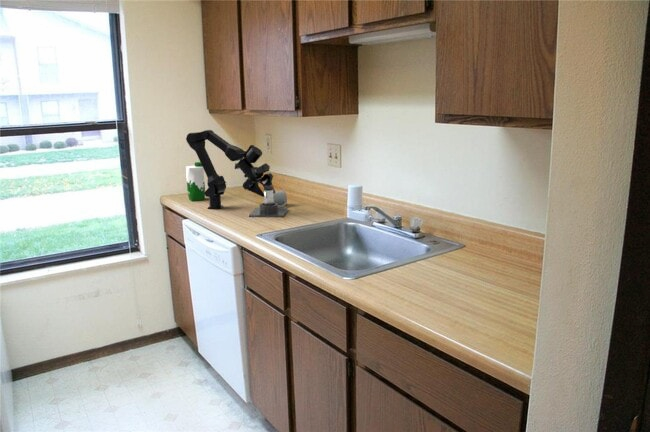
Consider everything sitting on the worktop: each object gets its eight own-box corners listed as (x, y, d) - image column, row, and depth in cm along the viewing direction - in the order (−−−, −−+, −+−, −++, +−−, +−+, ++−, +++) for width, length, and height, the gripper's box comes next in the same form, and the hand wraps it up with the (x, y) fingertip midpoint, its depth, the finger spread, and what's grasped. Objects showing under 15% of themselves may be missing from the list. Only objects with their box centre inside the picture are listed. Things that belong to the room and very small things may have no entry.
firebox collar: (255, 209, 252) (255, 200, 251) (288, 209, 251) (288, 201, 250) (248, 216, 236) (248, 207, 235) (283, 217, 235) (283, 207, 234)
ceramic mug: (267, 204, 263) (267, 190, 261) (282, 203, 266) (282, 188, 264) (273, 209, 254) (273, 193, 252) (289, 207, 257) (289, 192, 255)
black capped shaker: (263, 210, 244) (262, 185, 241) (272, 210, 246) (271, 184, 243) (265, 212, 240) (265, 186, 238) (274, 212, 242) (274, 185, 239)
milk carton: (206, 200, 276) (204, 163, 272) (189, 201, 273) (187, 164, 268) (203, 197, 284) (201, 161, 280) (186, 199, 280) (184, 162, 276)
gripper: (247, 160, 232) (268, 186, 229) (269, 156, 248) (289, 180, 246) (233, 176, 237) (254, 202, 234) (256, 171, 253) (275, 195, 251)
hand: (269, 194), depth 241 cm, fingers open, 9 cm apart
